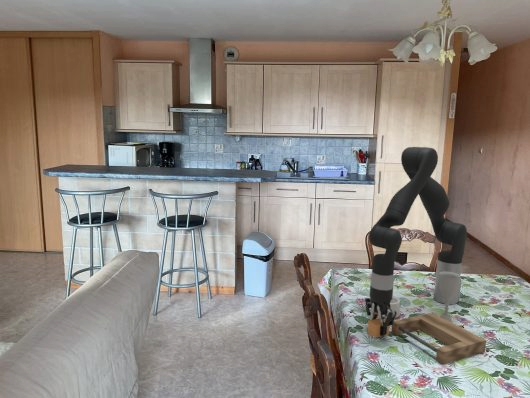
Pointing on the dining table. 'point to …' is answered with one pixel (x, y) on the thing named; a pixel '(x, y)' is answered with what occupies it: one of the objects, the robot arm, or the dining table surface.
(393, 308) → the mug
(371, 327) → the tall cardboard carton
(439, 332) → the shelf
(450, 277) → the chalice
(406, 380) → the dining table surface
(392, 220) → the robot arm
